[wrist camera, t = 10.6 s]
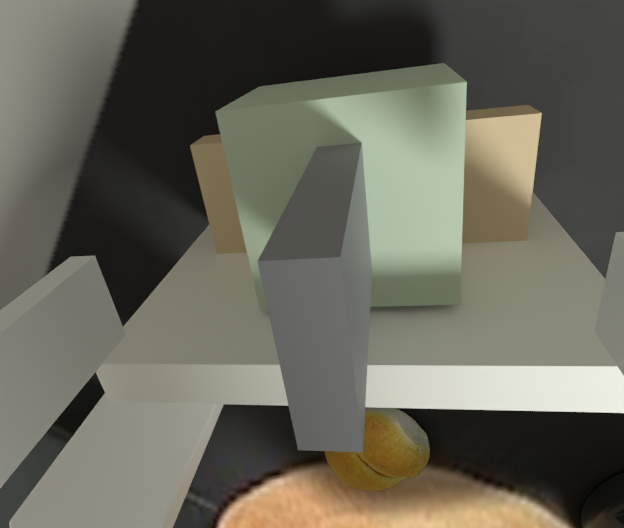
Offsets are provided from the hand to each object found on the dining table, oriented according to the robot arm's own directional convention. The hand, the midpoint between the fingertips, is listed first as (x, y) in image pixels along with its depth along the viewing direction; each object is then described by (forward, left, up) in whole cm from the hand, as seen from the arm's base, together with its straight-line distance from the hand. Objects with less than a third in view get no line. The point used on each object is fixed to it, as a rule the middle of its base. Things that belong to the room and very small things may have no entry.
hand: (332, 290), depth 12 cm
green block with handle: (0, 0, -11) cm, 11 cm away
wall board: (0, +4, -18) cm, 18 cm away
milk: (+13, +14, -18) cm, 27 cm away
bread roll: (+1, +27, -18) cm, 33 cm away
